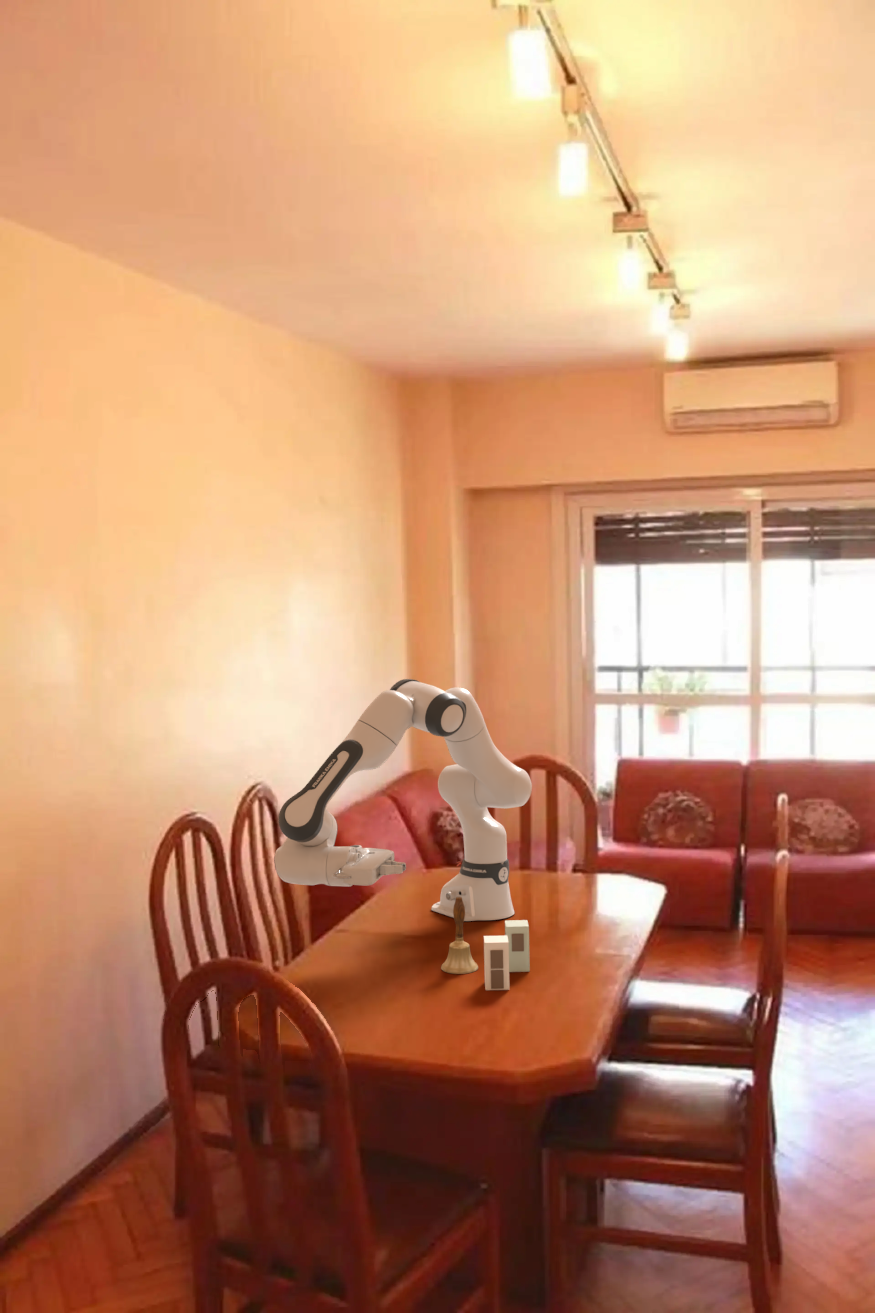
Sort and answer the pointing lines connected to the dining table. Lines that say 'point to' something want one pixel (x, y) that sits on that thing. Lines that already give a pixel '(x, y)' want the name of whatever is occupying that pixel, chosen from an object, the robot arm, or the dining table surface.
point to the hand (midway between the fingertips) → (404, 868)
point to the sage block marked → (518, 945)
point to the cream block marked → (496, 962)
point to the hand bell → (459, 946)
